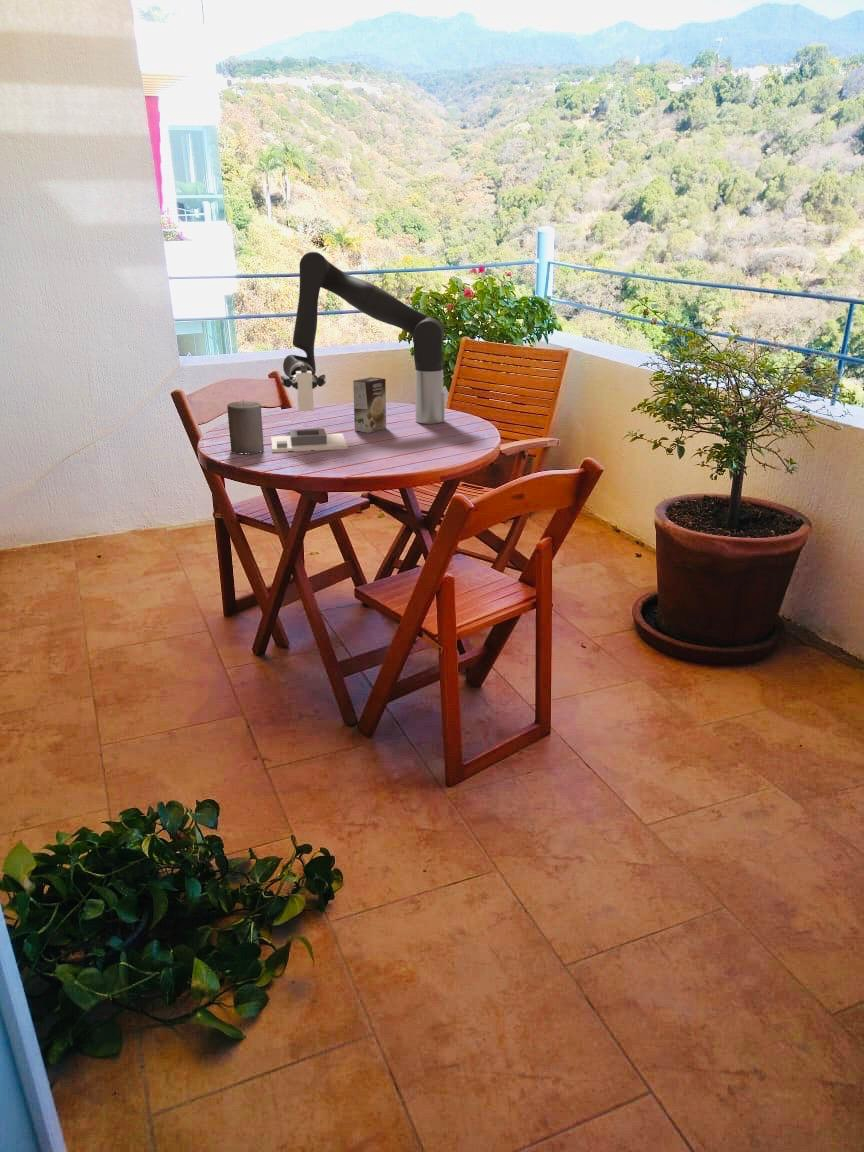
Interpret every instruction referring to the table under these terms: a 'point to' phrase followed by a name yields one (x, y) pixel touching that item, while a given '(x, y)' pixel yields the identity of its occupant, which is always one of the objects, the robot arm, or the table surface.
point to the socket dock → (329, 446)
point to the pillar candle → (245, 427)
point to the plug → (304, 389)
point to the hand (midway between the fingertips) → (305, 385)
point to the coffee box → (369, 404)
